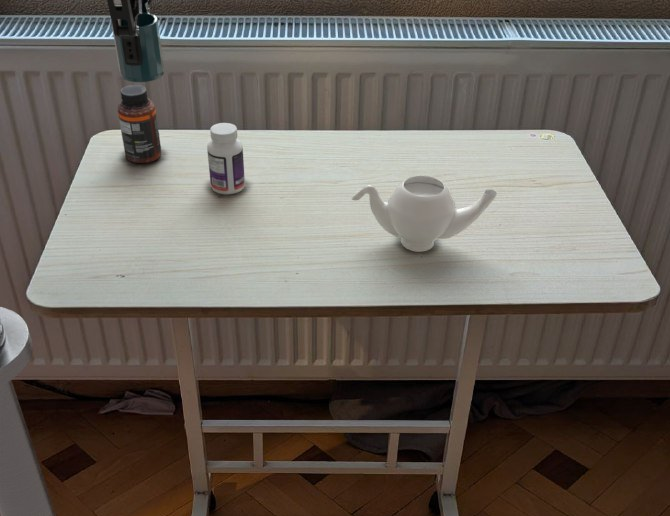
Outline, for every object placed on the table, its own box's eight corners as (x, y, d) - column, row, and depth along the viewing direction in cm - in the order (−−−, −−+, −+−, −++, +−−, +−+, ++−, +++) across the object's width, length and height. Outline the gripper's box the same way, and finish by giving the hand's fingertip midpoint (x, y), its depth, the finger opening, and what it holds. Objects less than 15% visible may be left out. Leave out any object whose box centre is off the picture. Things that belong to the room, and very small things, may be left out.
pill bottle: (239, 176, 134) (236, 118, 127) (249, 192, 130) (246, 133, 123) (206, 181, 132) (201, 123, 126) (215, 197, 129) (210, 138, 122)
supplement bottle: (152, 144, 141) (143, 78, 133) (167, 159, 137) (159, 92, 129) (119, 153, 138) (108, 86, 130) (134, 168, 135) (123, 100, 127)
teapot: (353, 219, 125) (356, 162, 119) (486, 232, 124) (496, 175, 117) (345, 254, 118) (347, 196, 112) (486, 268, 117) (496, 210, 110)
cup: (136, 86, 109) (128, 31, 104) (112, 72, 112) (102, 18, 107) (172, 74, 112) (166, 20, 107) (147, 61, 115) (140, 8, 110)
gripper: (100, -105, 104) (122, 33, 116) (71, -71, 94) (98, 76, 105) (160, -104, 104) (175, 34, 116) (138, -70, 94) (157, 78, 105)
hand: (139, 54), depth 110 cm, fingers closed on cup, 5 cm apart
